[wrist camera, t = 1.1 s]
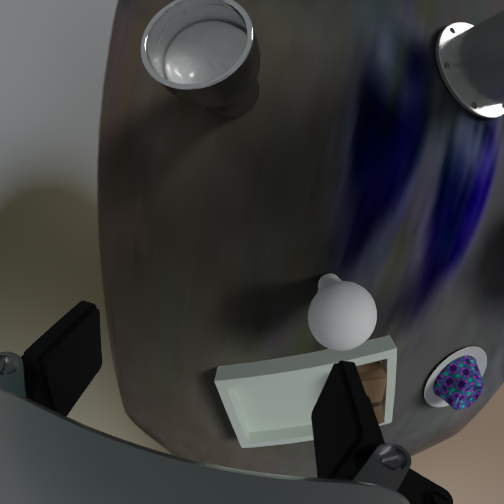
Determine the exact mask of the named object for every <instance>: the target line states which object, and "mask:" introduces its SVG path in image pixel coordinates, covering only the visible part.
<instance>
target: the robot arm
mask: <svg viewBox="0 0 504 504" xmlns="http://www.w3.org/2000/svg"><path fill="white" fill-rule="evenodd" d="M435 53H436V61H437V65H438V69H439V71H440V74H441V76H442V79H443V81H444V83H445V85H446V86H447V88H448V90H449V91H450V93H451V94H452V95H453V97H454V98H455V99H456V100H457V101H458V102H459V104H460V105H461V106H463V107H464V108H465V109H466V110H467V111H469V112H470V113H472V114H474V115H476V116H478V117H481V118H487V119H489V118H497V117H500V116H502V115H503V114H504V11H502V12H500V13H498V14H496V15H494V16H492V17H490V18H488V19H486V20H484V21H482V22H480V23H479V24H477V25H475V26H473V25H471V24H468V23H463V22H456V23H452V24H450V25H448V26H447V27H445V28H444V29H443V30H442V31H441V32H440V34H439V35H438V37H437V41H436V48H435ZM101 365H102V353H101V337H100V313H99V310H98V309H97V308H96V305H95V304H92V303H89V302H86V301H81V302H79V303H78V304H77V305H76V306H75V307H74V308H72V309H71V310H70V311H69V312H68V313H67V314H66V315H64V316H63V317H62V318H61V319H60V320H59V321H58V322H57V323H55V324H54V325H53V326H52V327H51V328H50V329H49V330H48V331H47V332H45V333H44V334H43V335H42V336H41V337H40V338H39V339H38V340H37V341H35V342H34V343H33V344H32V345H31V346H30V347H29V348H28V349H27V350H26V351H25V352H24V355H23V356H21V357H20V356H19V355H17V354H15V353H12V352H1V353H0V504H453V499H452V496H451V495H450V493H449V492H448V491H447V490H445V489H444V488H442V487H441V486H439V485H437V484H435V483H433V482H432V481H430V480H428V479H427V478H425V477H423V476H421V475H420V474H418V473H417V472H415V471H413V470H412V469H410V465H411V457H410V455H409V453H408V452H407V451H406V450H405V449H404V448H403V447H401V446H399V445H397V444H393V443H385V442H384V439H383V436H382V433H381V430H380V427H379V424H378V421H377V418H376V415H375V412H374V409H373V406H372V403H371V400H370V398H369V396H367V395H366V392H365V390H364V387H363V384H362V381H361V378H360V375H359V373H358V370H357V367H356V364H355V362H350V361H343V360H340V361H339V362H338V363H335V364H334V365H333V367H332V369H331V371H330V374H329V376H328V378H327V380H326V382H325V385H324V387H323V389H322V391H321V393H320V395H319V398H318V400H317V402H316V404H315V406H314V408H313V410H312V414H311V421H312V429H313V438H314V447H315V456H316V465H317V475H318V478H310V477H297V476H287V475H277V474H268V473H260V472H253V471H246V470H240V469H234V468H228V467H223V466H218V465H213V464H208V463H203V462H199V461H194V460H190V459H186V458H182V457H178V456H174V455H171V454H167V453H163V452H160V451H157V450H153V449H150V448H147V447H143V446H140V445H137V444H134V443H131V442H128V441H125V440H122V439H120V438H117V437H114V436H112V435H109V434H106V433H104V432H101V431H99V430H96V429H94V428H91V427H89V426H86V425H84V424H82V423H79V422H77V421H75V420H73V419H70V418H68V417H66V416H67V415H68V413H69V412H70V411H71V409H72V407H73V406H74V405H75V403H76V402H77V401H78V399H79V398H80V396H81V395H82V393H83V392H84V390H85V389H86V388H87V386H88V385H89V384H90V382H91V381H92V379H93V378H94V376H95V375H96V374H97V373H98V371H99V370H100V368H101Z"/></svg>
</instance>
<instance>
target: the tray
mask: <svg viewBox="0 0 504 504" xmlns="http://www.w3.org/2000/svg"><path fill="white" fill-rule="evenodd" d="M340 360H343V361H350V362H355V364H356V366H359V365H363V364H367V363H371V362H375V361H380V363H381V365H382V367H383V369H384V372H385V374H386V376H387V382H386V386H385V391H384V395H383V399H382V402H380V403H381V406H382V411H383V416H384V421H385V422H384V423H382V424H379V426H380V425H384V424H387V423H391V422H392V415H393V405H394V393H395V379H396V360H397V347H396V346H395V344H394V342H393V340H392V339H391V337H390V335H387V336H384V337H380V338H376V339H371V340H367V341H365V342H364V343H363V344H361V345H360V346H358V347H356V348H353V349H351V350H346V351H338V350H332V349H326V350H321V351H316V352H311V353H306V354H300V355H294V356H288V357H282V358H276V359H270V360H263V361H256V362H249V363H241V364H233V365H225V366H218V368H217V372H216V376H215V380H214V382H215V384H216V387H217V389H218V392H219V395H220V397H221V400H222V402H223V405H224V407H225V409H226V412H227V414H228V417H229V419H230V422H231V424H232V426H233V429H234V431H235V433H236V436H237V438H238V440H239V443H240V445H241V447H242V448H249V447H261V446H271V445H280V444H288V443H296V442H303V441H309V440H314V438H313V429H312V421H311V414H312V410H313V408H314V406H315V404H316V402H317V400H318V398H319V395H320V393H321V391H322V389H323V387H324V385H325V382H326V380H327V378H328V376H329V374H330V371H331V369H332V367H333V365H334V364H335V363H338V362H339V361H340Z"/></svg>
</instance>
